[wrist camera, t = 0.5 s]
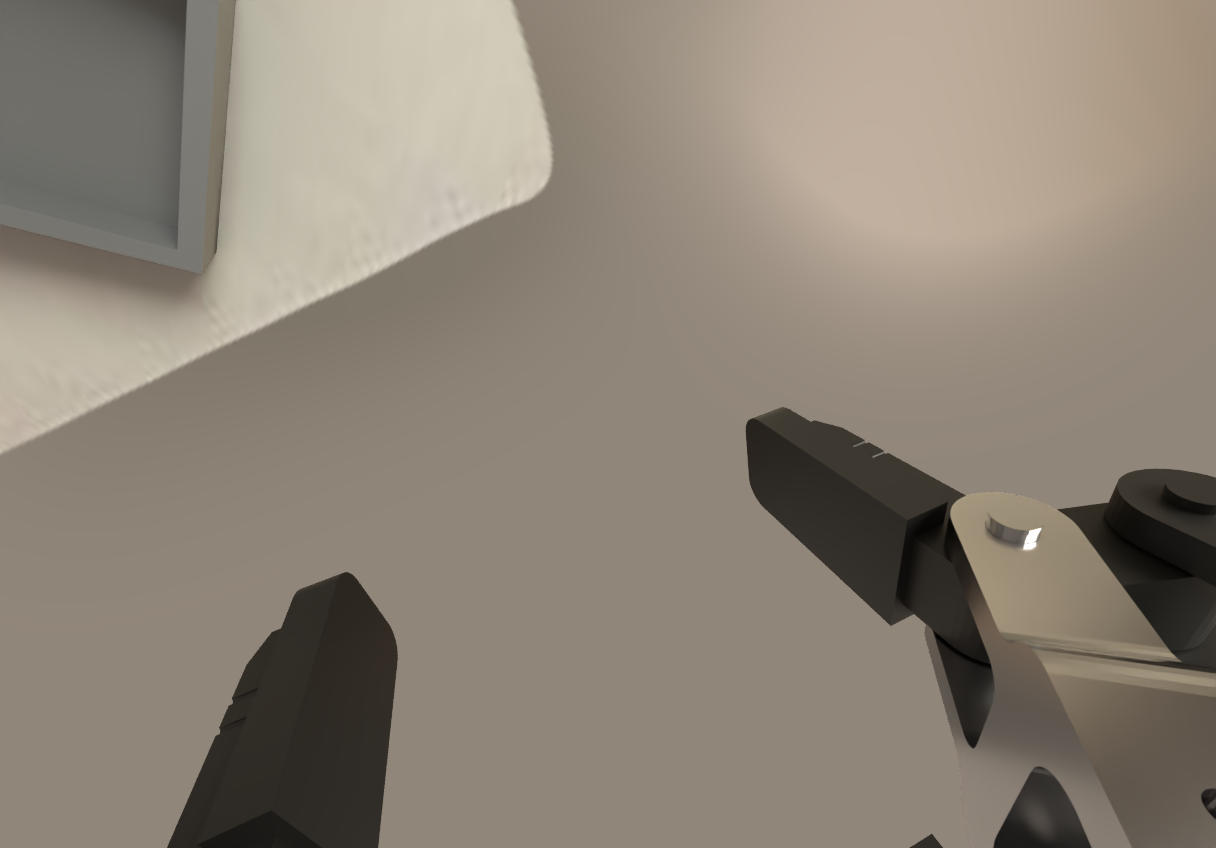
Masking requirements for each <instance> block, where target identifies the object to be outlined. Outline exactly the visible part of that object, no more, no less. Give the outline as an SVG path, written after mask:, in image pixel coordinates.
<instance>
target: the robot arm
mask: <svg viewBox="0 0 1216 848" xmlns="http://www.w3.org/2000/svg"><path fill="white" fill-rule="evenodd" d="M746 441H747V455H748V468H749V481H750V485H751V488H752V490H753V493H754V494H755V496H756V498H757V500H758V501H759V502H760V504H761V505H762V506H763V507H764V508H765V509H766V510H767V511H768V512H769V513H770V514H771V515H772V516H774V517H775V518H776V519H777V520H778V521H779V522H780V523H781V524H782V525H783V526H784V527H785V528H786V529H788V530H789V531H790V532H791V533H792V534H793V535H794V536H795V537H796V538H797V539H798V540H799V541H800V542H801V543H803V544H804V545H805V546H806V547H807V548H808V549H809V550H810V551H811V552H812V553H813V554H814V555H815V556H816V557H818V558H819V559H820V560H821V561H822V562H823V563H824V564H825V565H826V566H827V567H828V568H829V569H830V570H832V571H833V572H834V573H835V574H836V575H837V576H838V577H839V578H840V579H841V580H842V581H843V582H845V584H846V585H848V586H849V587H850V588H851V589H852V590H853V591H854V592H855V593H856V594H857V595H858V596H859V597H860V598H862V599H863V600H864V601H865V602H866V603H867V604H868V605H869V606H870V607H871V608H872V609H873V610H874V611H875V612H877V613H878V614H879V615H880V616H881V617H882V618H883V619H884V620H885V621H886V622H887V623H888V624H889V625H893V624H895V623H897V622H899V621H901V620H903V619H905V618H907V617H909V616H911V615H913V614H915V615H916V616H917V617H918V618H920V619H921V620H922V621H923V622H924V623H925V624H926V626H925V638H926V642H927V646H928V649H929V654H930V657H931V660H932V664H933V668H934V671H935V675H936V679H937V682H938V686H939V689H940V693H941V696H942V700H943V704H944V707H945V711H946V714H947V718H948V722H949V725H950V729H951V732H952V736H953V739H954V743H955V747H956V750H957V755H958V759H959V765H960V776H961V803H962V811H963V817H964V823H965V828H966V832H967V837H968V841H969V845H970V848H1216V478H1215V477H1212V476H1208V475H1203V474H1199V473H1194V472H1188V471H1181V470H1172V469H1171V470H1170V469H1144V470H1137V471H1133V472H1130V473H1127V474H1125V475H1124V476H1122V477H1121V478H1120V479H1119V480H1118V483H1117V485H1116V487H1115V489H1114V492H1113V494H1112V496H1111V498H1110V501H1109V503H1103V504H1095V505H1088V506H1080V507H1073V508H1065V509H1058V510H1056V509H1054V508H1053V507H1050V506H1049V505H1046V504H1044V503H1042V502H1039V501H1036V500H1033V499H1030V498H1027V497H1023V496H1019V495H1014V494H1009V493H999V492H982V493H975V494H970V495H967V496H966V495H964V494H962V493H960V492H958V491H956V490H955V489H953V488H951V487H949V486H947V485H945V484H944V483H942V482H940V481H938V480H936V479H935V478H933V477H931V476H929V475H927V474H925V473H924V472H922V471H920V470H918V469H916V468H915V467H912V466H911V465H909V464H907V463H905V462H903V461H902V460H900V459H898V458H896V457H894V456H893V455H891V454H889V453H887V454H885V453H884V452H883V450H881V449H880V448H878V447H876V446H874V445H873V444H871V443H865V441H864V440H863V439H862V438H860V437H858V436H856V435H854V434H853V433H851V432H849V431H847V430H845V429H843V428H841V427H837V426H834V425H830V424H826V423H822V422H818V421H812V422H810V421H808V420H806V419H805V418H803V417H802V416H800V415H798V414H797V413H795V412H793V411H791V410H790V409H787V408H784V407H783V408H779V409H776V410H773V411H771V412H768V413H765V414H763V415H760V416H758V417H755V418H752V419H750V420H749V421H748V422H747V425H746ZM397 660H398V655H397V645H396V640H395V637H394V634H393V631H392V629H391V627H390V625H389V624H388V622H387V621H386V620H385V618H384V617H383V615H382V614H381V612H380V611H379V610H378V608H377V607H376V605H375V604H374V603H373V601H372V600H371V598H370V597H369V596H368V594H367V593H366V591H365V590H364V589H363V587H362V586H361V584H360V583H359V582H358V580H357V579H356V578H355V577H354V576H353V575H352V574H350V573H348V572H345V573H342V574H339V575H337V576H334V577H331V578H329V579H326V580H324V581H321V582H318V583H315V584H313V585H310V586H308V587H305V588H302V589H300V590H298V591H297V592H296V594H295V595H294V597H293V600H292V602H291V605H290V607H289V610H288V612H287V615H286V617H285V620H284V623H283V625H282V628H281V629H279V630H276V631H274V632H272V633H271V634H270V635H269V637H268V638H267V639H266V641H265V642H264V643H263V645H262V646H261V647H260V648H259V650H258V651H257V652H256V653H255V655H254V656H253V658H252V659H251V660H250V661H249V663H248V664H247V665H246V668H245V670H244V672H243V674H242V677H241V679H240V681H239V684H238V686H237V688H236V690H235V693H234V695H233V697H232V700H233V704H232V705H230V706H228V709H227V711H226V713H225V716H224V718H223V720H222V723H221V725H220V727H219V728H220V734H219V735H217V736H216V737H215V739H214V741H213V743H212V746H211V748H210V750H209V753H208V755H207V757H206V759H205V762H204V764H203V766H202V769H201V771H200V773H199V775H198V778H197V780H196V782H195V785H194V787H193V789H192V792H191V794H190V796H189V798H188V801H187V803H186V805H185V808H184V810H183V812H182V815H181V817H180V819H179V821H178V824H177V826H176V828H175V831H174V833H173V835H172V838H171V840H170V842H169V845H168V847H167V848H378V843H379V833H380V823H381V814H382V805H383V795H384V785H385V776H386V766H387V757H388V747H389V737H390V728H391V718H392V709H393V699H394V689H395V679H396V670H397ZM910 848H943V847H942V846H941V845H940V844H939V842H938V841H937V840H936V838H935V837H934V836H933V835H932V834H931V835H929V836H928V837H926V838H925V839H923V840H921V841H920V842H918V843H917V844H915V845H913V846H912V847H910Z"/></svg>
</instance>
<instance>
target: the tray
mask: <svg viewBox="0 0 1216 848" xmlns="http://www.w3.org/2000/svg"><path fill="white" fill-rule="evenodd" d="M235 1H236V0H0V225H4V226H8V227H12V228H16V229H20V230H24V231H28V232H32V233H36V234H41V235H45V236H49V237H53V238H57V239H61V240H65V241H69V242H73V243H77V244H81V245H85V246H89V247H93V248H97V249H101V250H105V251H109V252H113V253H117V254H121V255H125V256H129V257H133V258H137V259H141V260H145V261H149V262H153V263H158V264H162V265H166V266H170V267H174V268H178V269H182V270H186V271H190V272H194V273H198V274H202V273H203V271H204V270H205V268H206V267H207V265H208V264H209V262H210V261H211V259H212V258H213V256H214V255H215V253H216V249H217V236H218V223H219V210H220V197H221V184H222V171H223V158H224V145H225V132H226V118H227V105H228V92H229V79H230V66H231V53H232V40H233V27H234V14H235Z"/></svg>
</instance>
